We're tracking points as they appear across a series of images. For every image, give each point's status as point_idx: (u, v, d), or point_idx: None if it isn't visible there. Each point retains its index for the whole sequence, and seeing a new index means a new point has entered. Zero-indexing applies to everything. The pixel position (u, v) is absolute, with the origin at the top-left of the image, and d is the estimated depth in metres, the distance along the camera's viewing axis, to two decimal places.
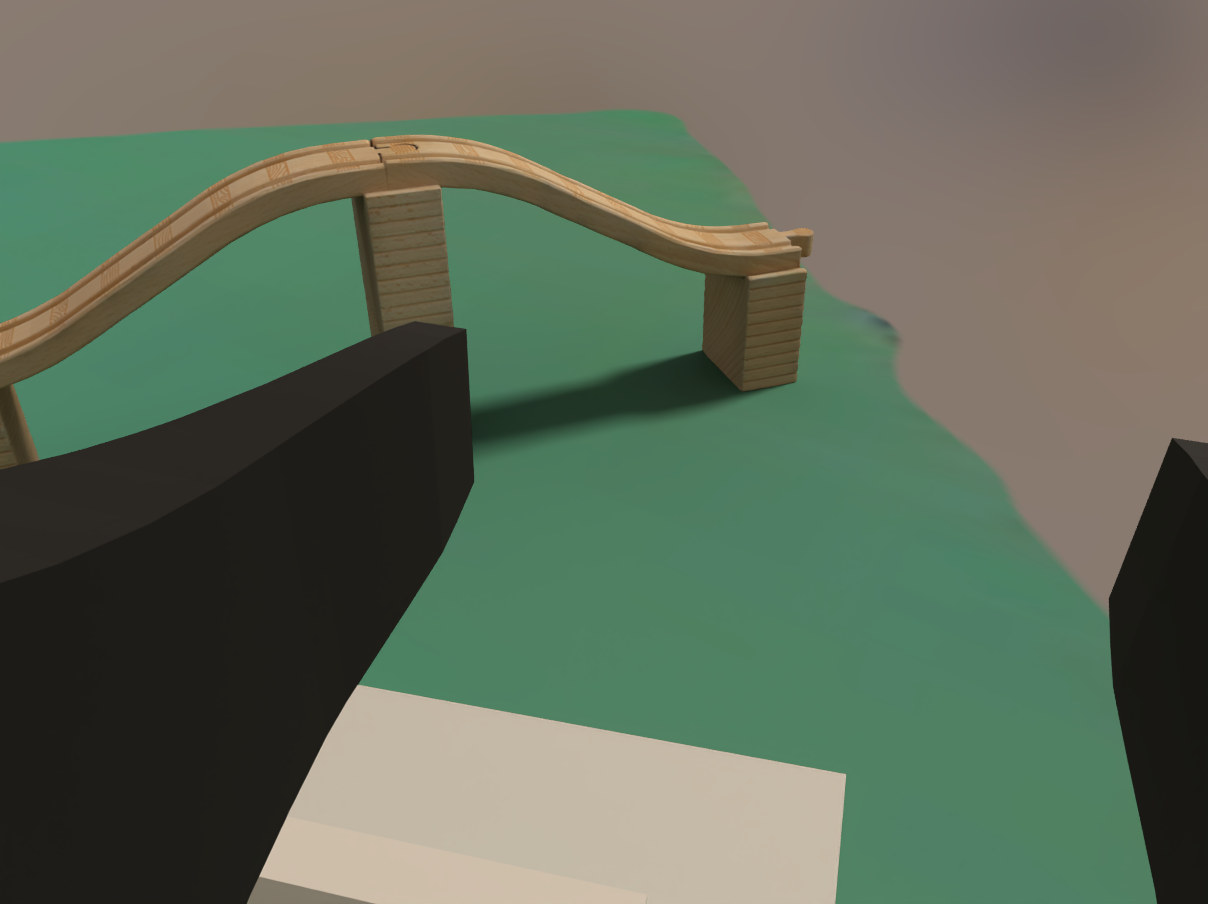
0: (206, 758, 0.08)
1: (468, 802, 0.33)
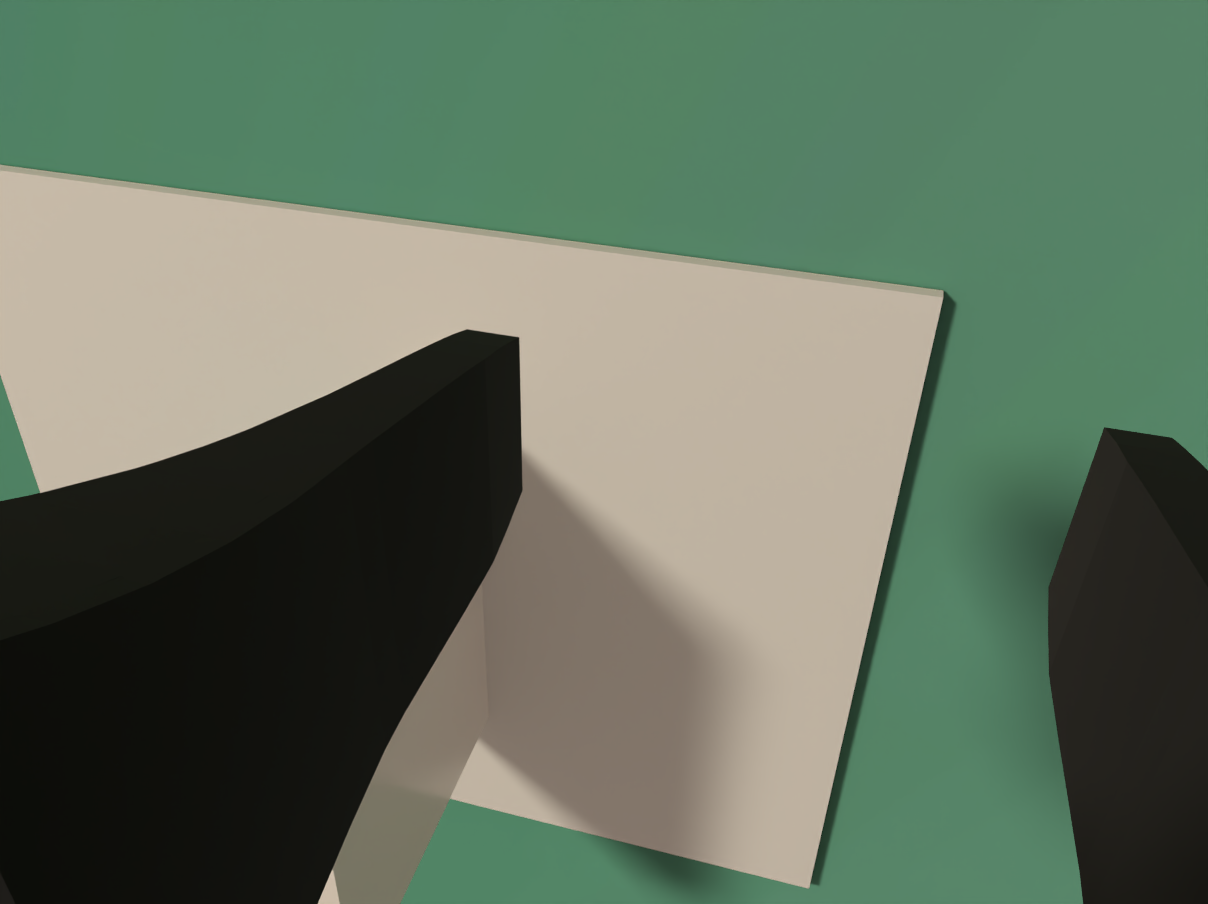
0: (277, 777, 0.08)
1: None
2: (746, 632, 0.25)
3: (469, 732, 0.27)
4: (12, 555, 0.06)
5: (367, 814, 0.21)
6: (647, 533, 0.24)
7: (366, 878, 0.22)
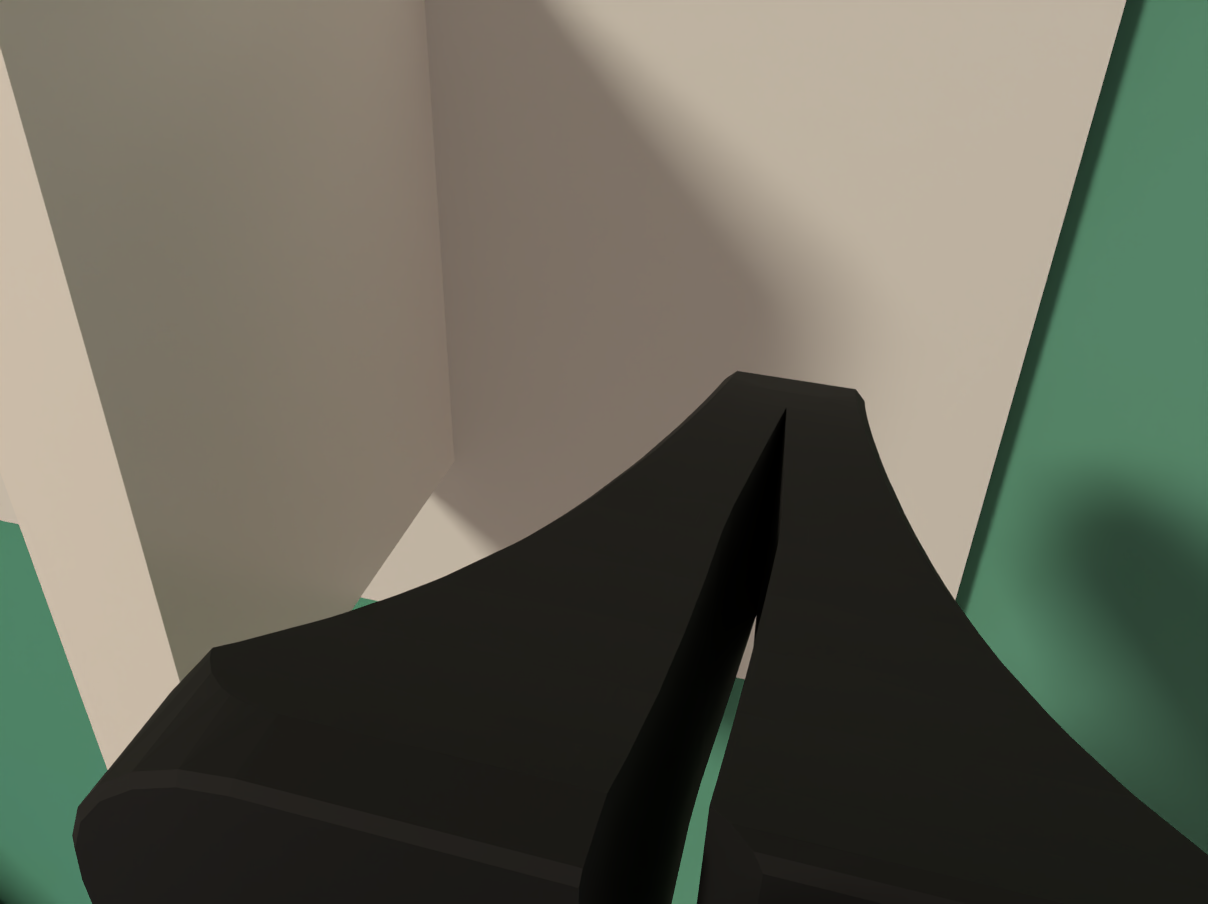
0: (660, 874, 0.07)
1: None
2: (855, 260, 0.16)
3: (422, 464, 0.18)
4: (491, 660, 0.05)
5: (220, 473, 0.12)
6: (700, 79, 0.15)
7: (223, 597, 0.13)
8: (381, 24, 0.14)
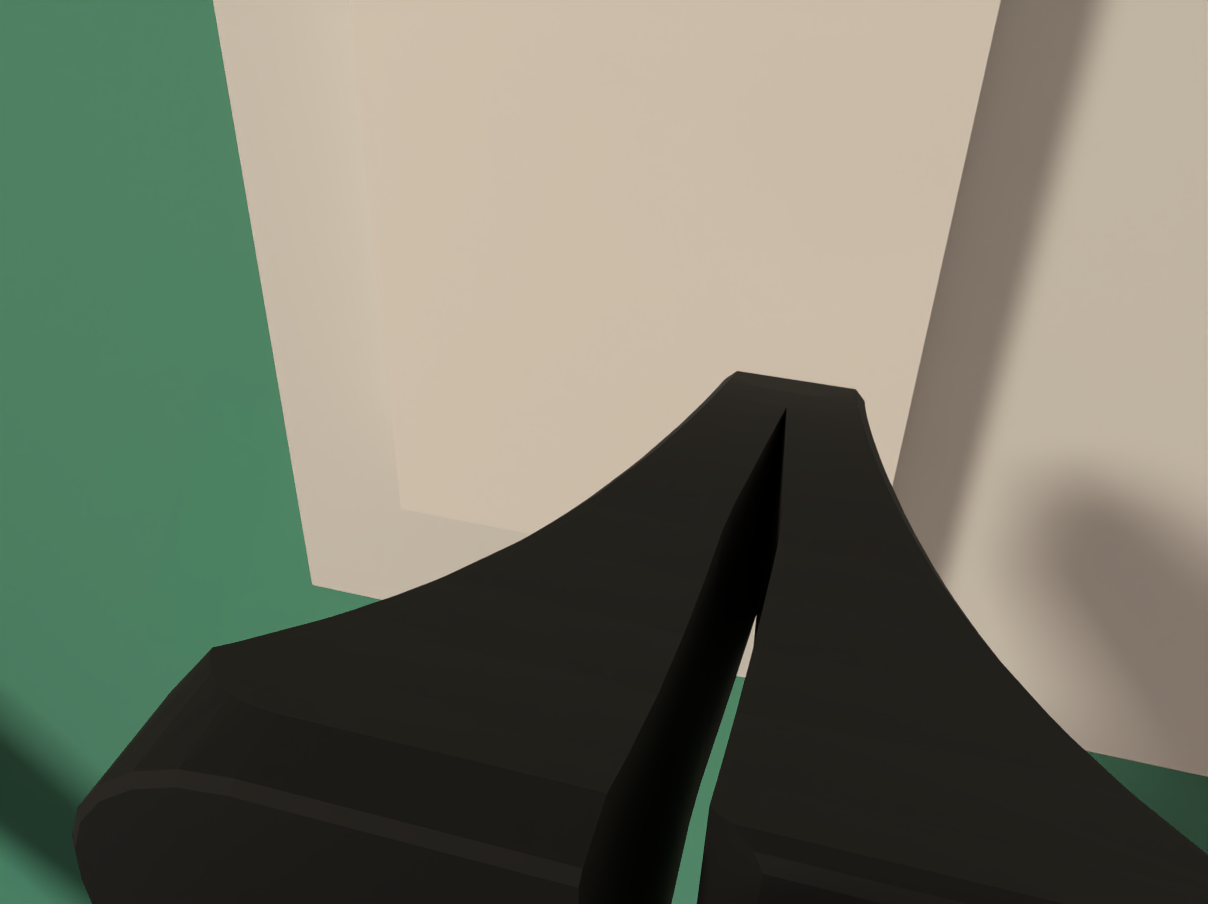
0: (660, 874, 0.07)
1: None
2: None
3: None
4: (491, 660, 0.05)
5: (467, 303, 0.16)
6: None
7: (447, 387, 0.17)
8: (856, 72, 0.13)
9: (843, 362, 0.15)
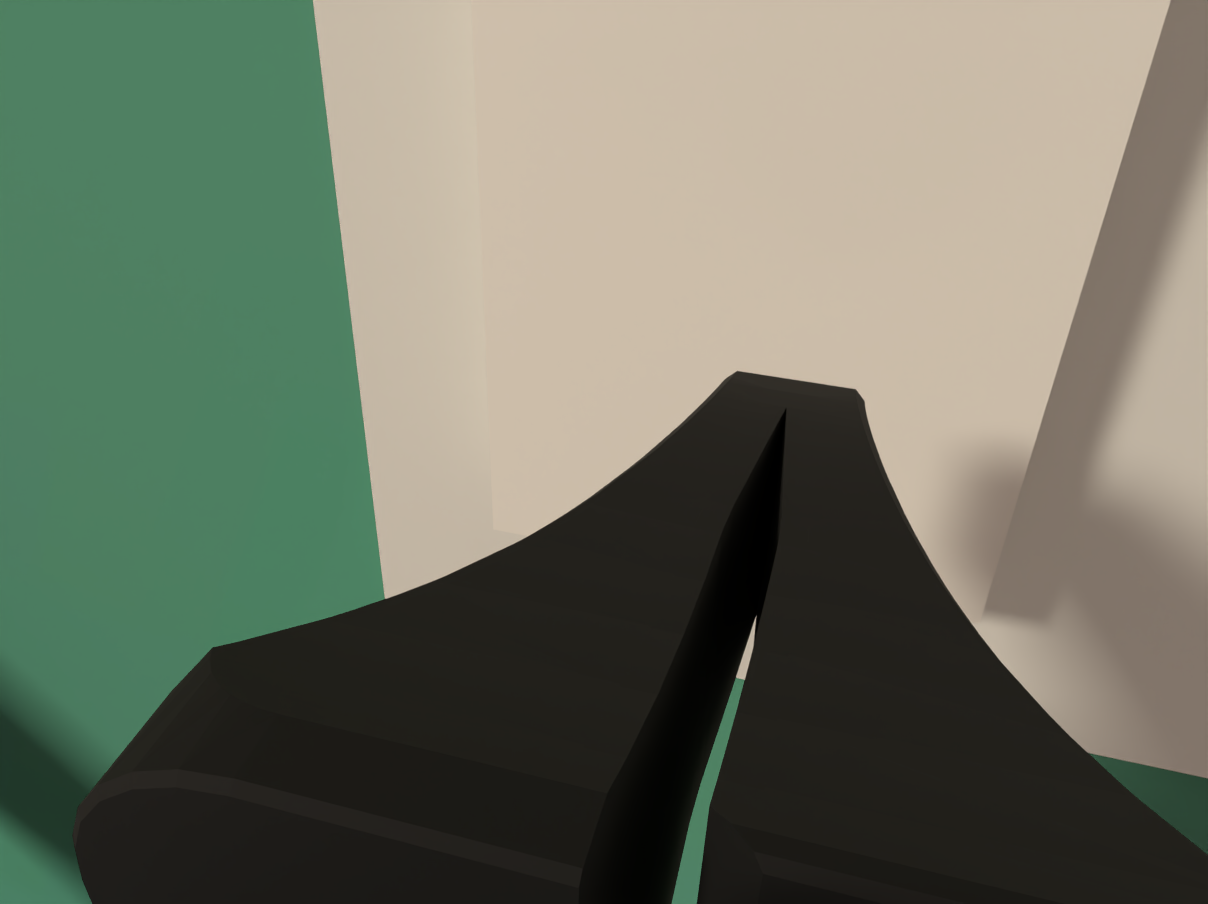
0: (660, 874, 0.07)
1: None
2: None
3: None
4: (491, 660, 0.05)
5: (577, 323, 0.15)
6: None
7: (549, 407, 0.16)
8: (1006, 89, 0.12)
9: (971, 383, 0.14)
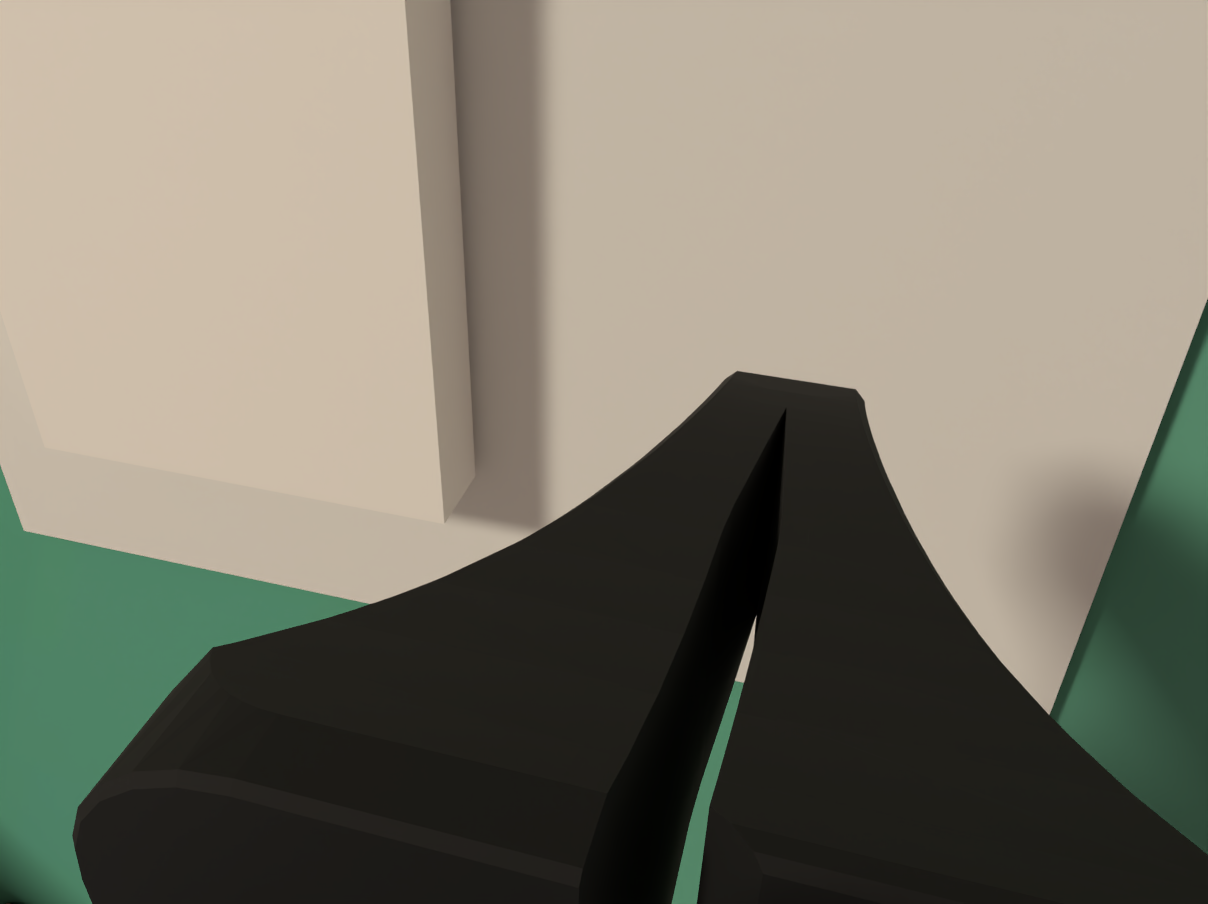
0: (660, 874, 0.07)
1: None
2: (1002, 282, 0.15)
3: (367, 471, 0.18)
4: (492, 660, 0.05)
5: (50, 249, 0.17)
6: (851, 98, 0.14)
7: (53, 329, 0.18)
8: (306, 27, 0.14)
9: (366, 297, 0.16)
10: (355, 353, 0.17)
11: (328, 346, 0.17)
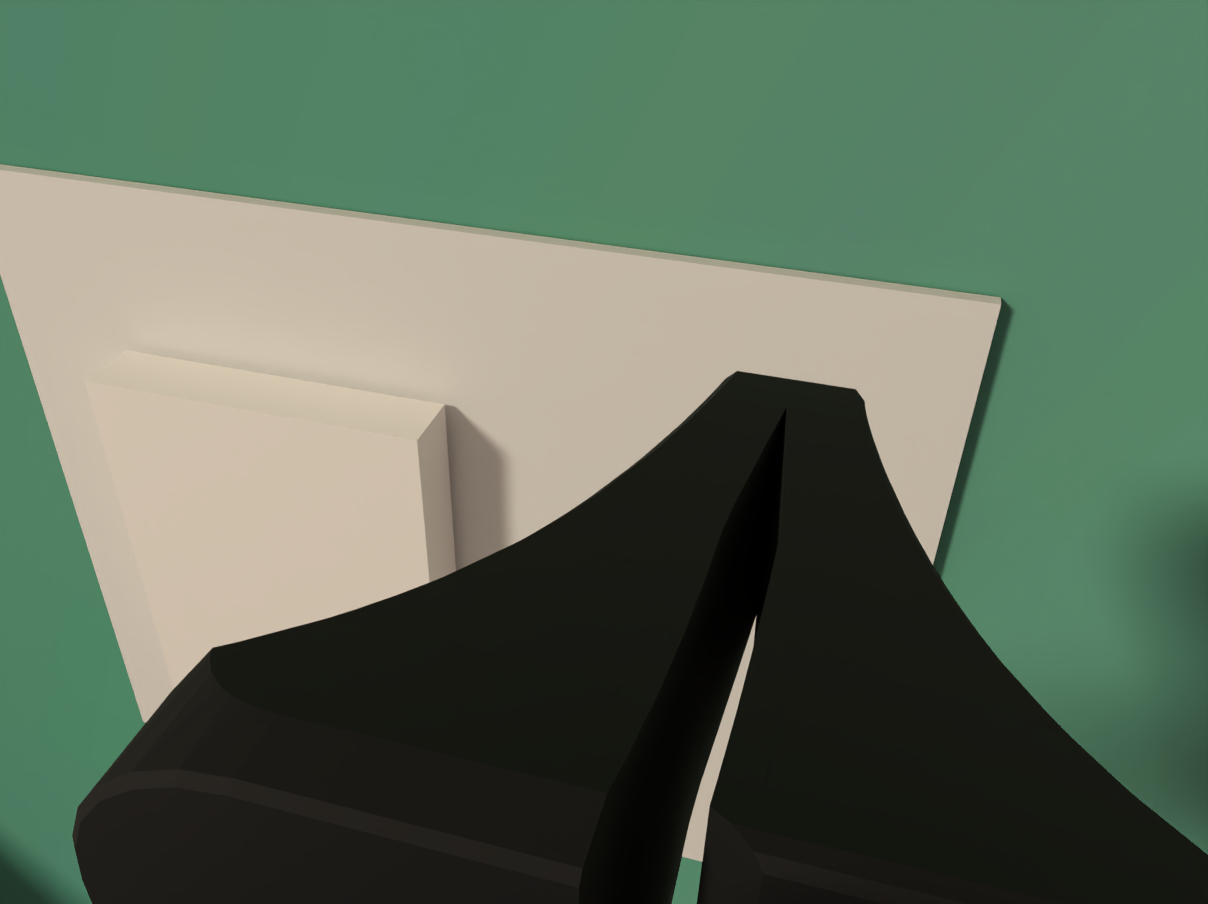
0: (659, 874, 0.07)
1: None
2: None
3: None
4: (489, 660, 0.05)
5: (191, 590, 0.27)
6: None
7: (188, 631, 0.28)
8: (363, 504, 0.23)
9: None
10: None
11: None
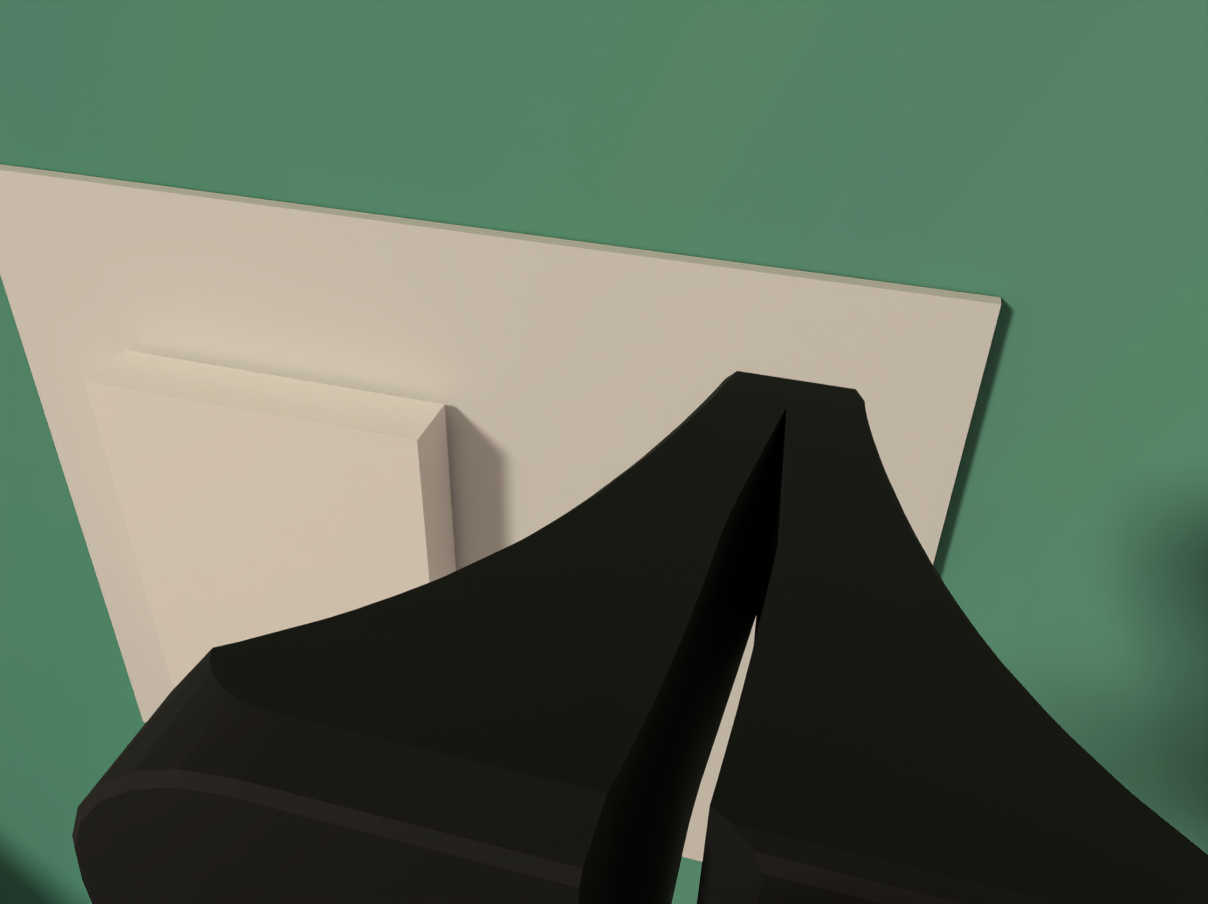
0: (659, 874, 0.07)
1: None
2: None
3: None
4: (489, 660, 0.05)
5: (191, 590, 0.27)
6: None
7: (188, 631, 0.28)
8: (363, 504, 0.23)
9: None
10: None
11: None
